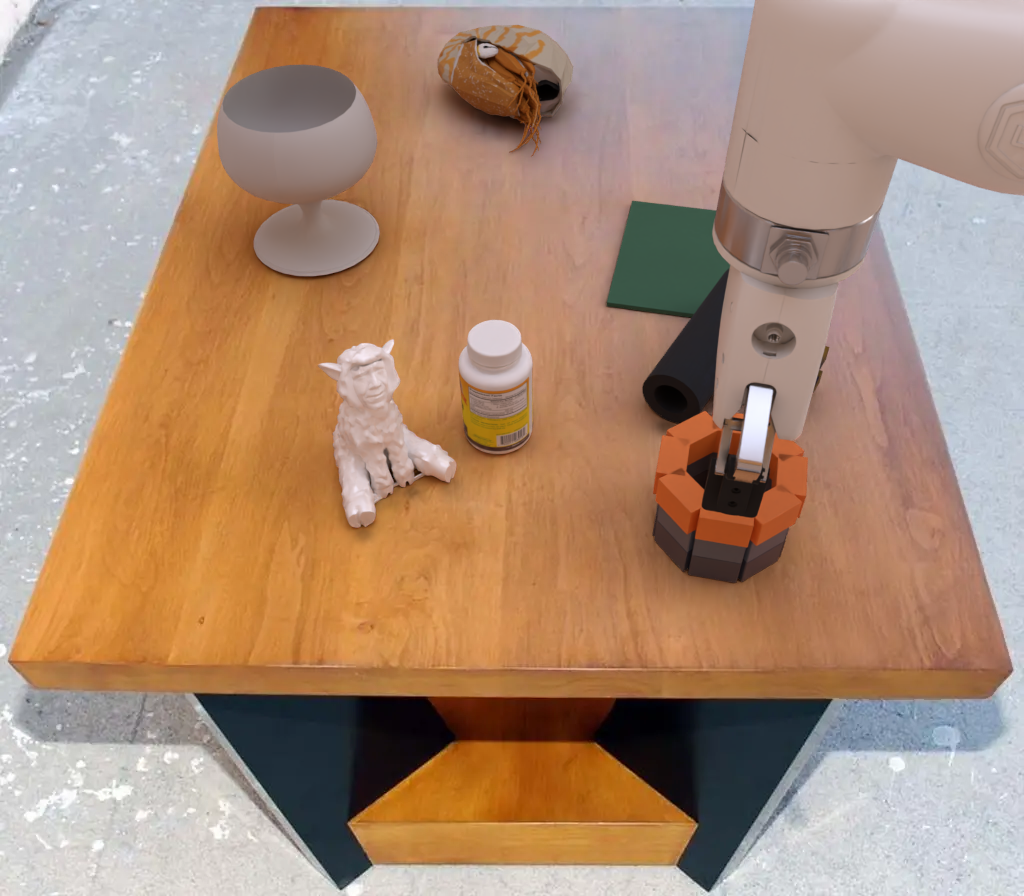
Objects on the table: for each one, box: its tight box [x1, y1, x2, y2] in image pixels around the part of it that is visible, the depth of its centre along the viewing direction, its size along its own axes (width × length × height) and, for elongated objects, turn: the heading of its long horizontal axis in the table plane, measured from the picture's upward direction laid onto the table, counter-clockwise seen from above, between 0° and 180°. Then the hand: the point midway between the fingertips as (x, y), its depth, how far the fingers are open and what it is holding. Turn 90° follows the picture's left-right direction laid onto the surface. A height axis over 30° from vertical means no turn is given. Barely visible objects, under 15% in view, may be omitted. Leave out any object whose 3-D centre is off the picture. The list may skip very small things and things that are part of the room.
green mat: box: [605, 200, 730, 319], centre depth 94 cm, size 16×16×1 cm
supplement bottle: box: [458, 319, 534, 455], centre depth 77 cm, size 6×6×10 cm
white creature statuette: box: [317, 338, 458, 529], centre depth 74 cm, size 10×9×12 cm
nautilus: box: [436, 24, 574, 158], centre depth 110 cm, size 8×22×15 cm
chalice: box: [216, 64, 381, 277], centre depth 92 cm, size 14×14×15 cm
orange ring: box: [652, 410, 809, 547], centre depth 69 cm, size 10×10×2 cm
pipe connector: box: [641, 268, 830, 424], centre depth 82 cm, size 12×5×15 cm
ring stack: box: [652, 452, 791, 584], centre depth 72 cm, size 9×9×5 cm
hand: (735, 448), depth 62 cm, fingers open, 9 cm apart
